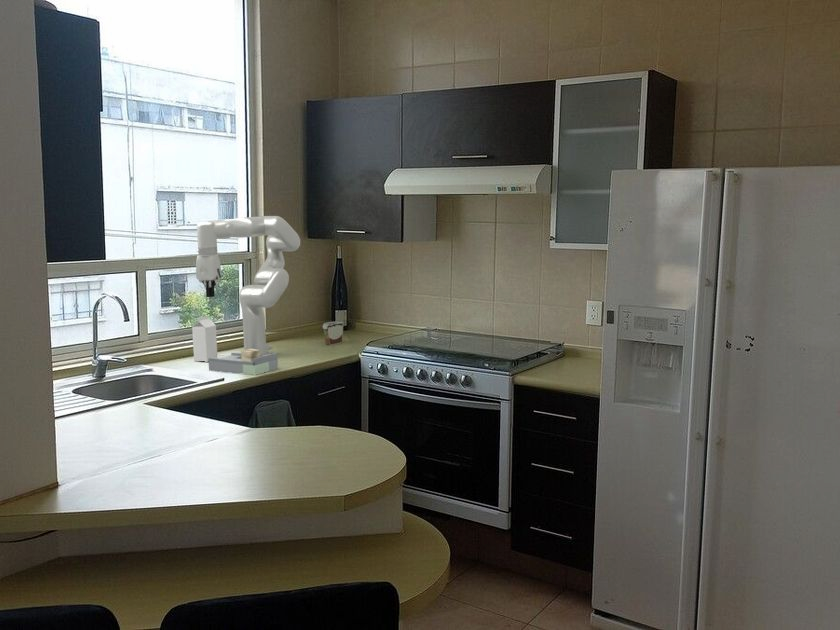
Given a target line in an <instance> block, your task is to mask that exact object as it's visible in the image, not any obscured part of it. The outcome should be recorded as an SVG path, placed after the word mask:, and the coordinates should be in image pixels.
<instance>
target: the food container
mask: <svg viewBox="0 0 840 630" xmlns="http://www.w3.org/2000/svg"><path fill="white" fill-rule="evenodd" d="M344 326H345V324H344V321H328V322H324V323H323V325H322V329H323V332H324V339H325V340H324V341H325V345H326V346H334V345H338V344H343V342H344V341H343V339H344V338H343V337H344Z"/></svg>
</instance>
